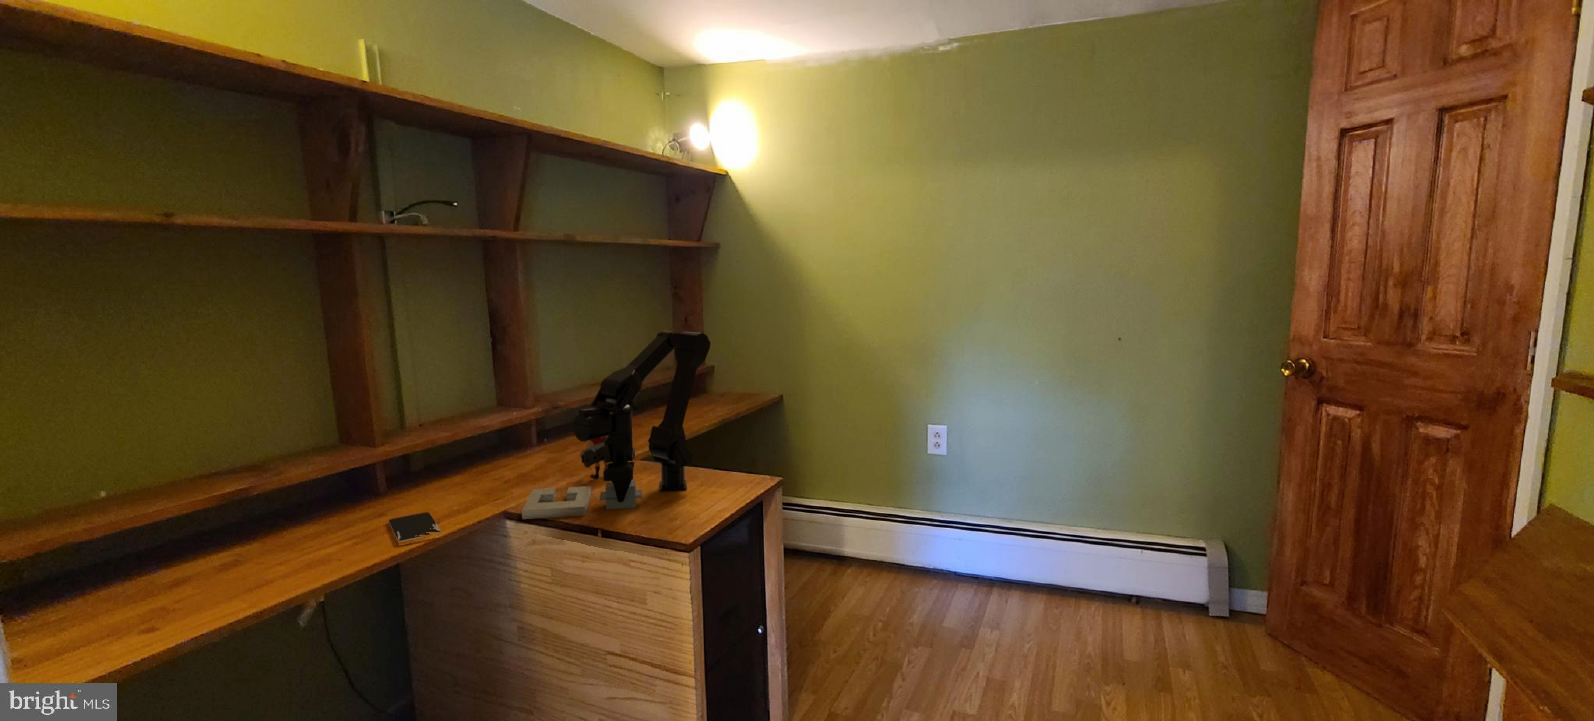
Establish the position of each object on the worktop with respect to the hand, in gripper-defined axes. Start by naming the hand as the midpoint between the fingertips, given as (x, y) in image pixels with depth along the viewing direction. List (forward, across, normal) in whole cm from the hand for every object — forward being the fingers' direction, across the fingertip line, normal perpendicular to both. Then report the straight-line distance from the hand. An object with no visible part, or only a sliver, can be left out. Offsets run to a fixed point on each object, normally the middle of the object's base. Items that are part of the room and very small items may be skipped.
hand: (621, 498), depth 154 cm
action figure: (+2, -23, -6) cm, 24 cm away
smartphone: (+2, +7, -41) cm, 42 cm away
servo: (+2, -2, 0) cm, 2 cm away
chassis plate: (+2, -2, -14) cm, 14 cm away
